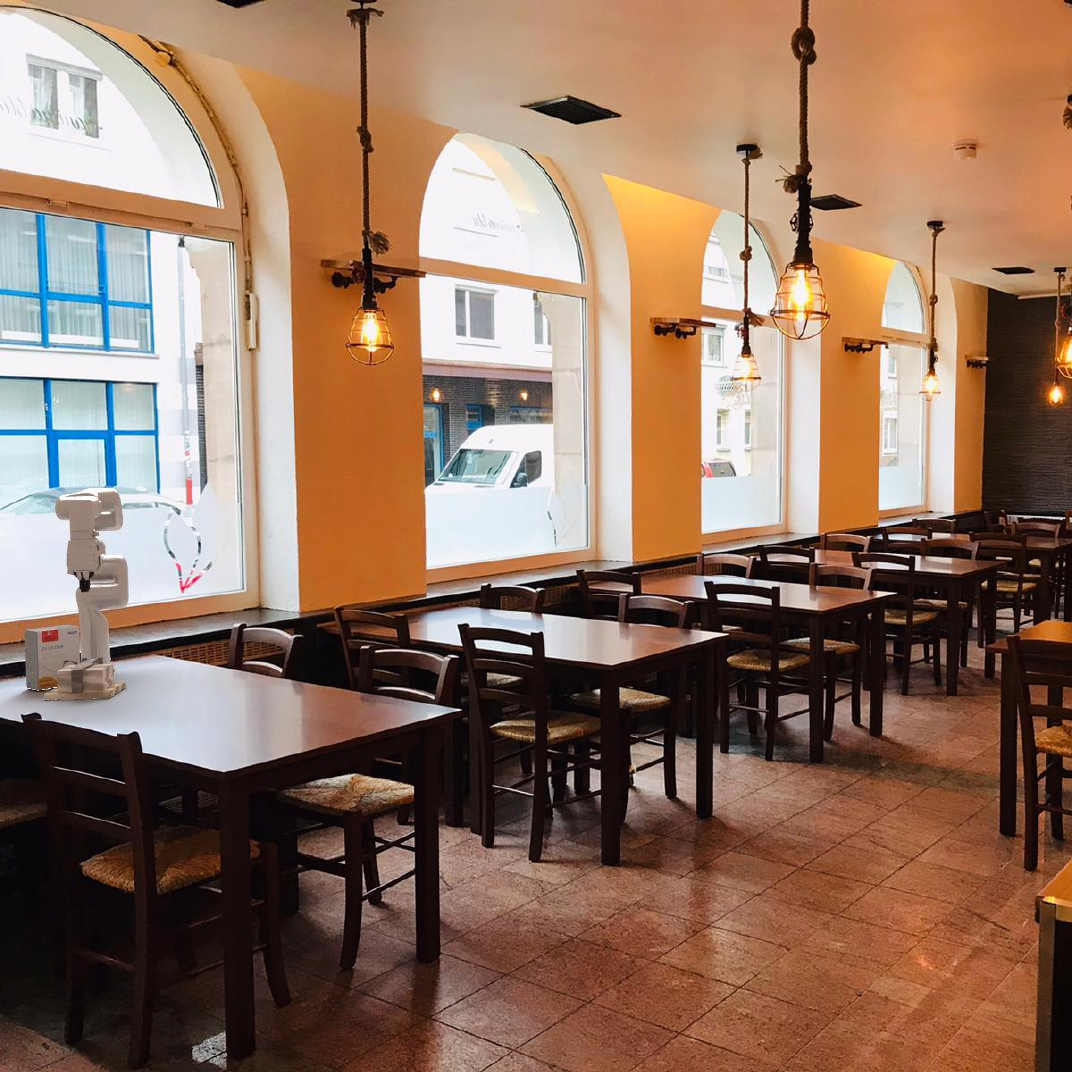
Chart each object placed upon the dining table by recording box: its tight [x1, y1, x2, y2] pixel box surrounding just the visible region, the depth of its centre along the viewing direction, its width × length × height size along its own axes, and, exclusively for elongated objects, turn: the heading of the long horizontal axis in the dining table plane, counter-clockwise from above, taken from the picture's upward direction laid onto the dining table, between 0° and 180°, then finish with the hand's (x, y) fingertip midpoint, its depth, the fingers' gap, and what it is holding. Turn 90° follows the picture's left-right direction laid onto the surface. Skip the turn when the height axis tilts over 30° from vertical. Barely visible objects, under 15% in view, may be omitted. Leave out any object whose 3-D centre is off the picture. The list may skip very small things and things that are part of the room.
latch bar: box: [71, 659, 98, 670], centre depth 363 cm, size 16×3×1 cm, turn 3°
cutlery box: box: [43, 657, 127, 701], centre depth 364 cm, size 17×20×10 cm
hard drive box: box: [23, 624, 81, 690], centre depth 376 cm, size 16×8×20 cm, turn 143°
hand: (85, 591), depth 370 cm, fingers closed
